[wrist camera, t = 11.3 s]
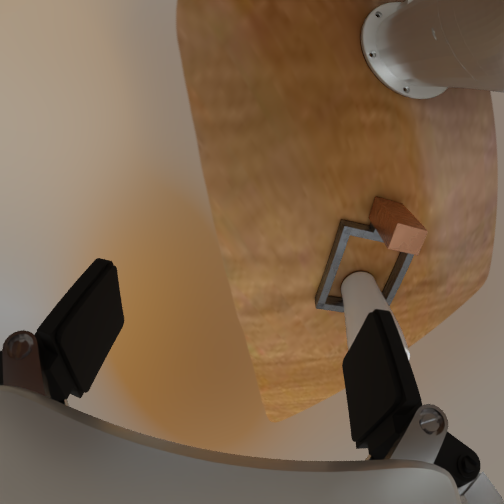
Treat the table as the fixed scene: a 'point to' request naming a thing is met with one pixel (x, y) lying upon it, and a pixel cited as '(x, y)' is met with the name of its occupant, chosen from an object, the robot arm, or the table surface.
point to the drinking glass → (363, 304)
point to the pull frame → (381, 229)
